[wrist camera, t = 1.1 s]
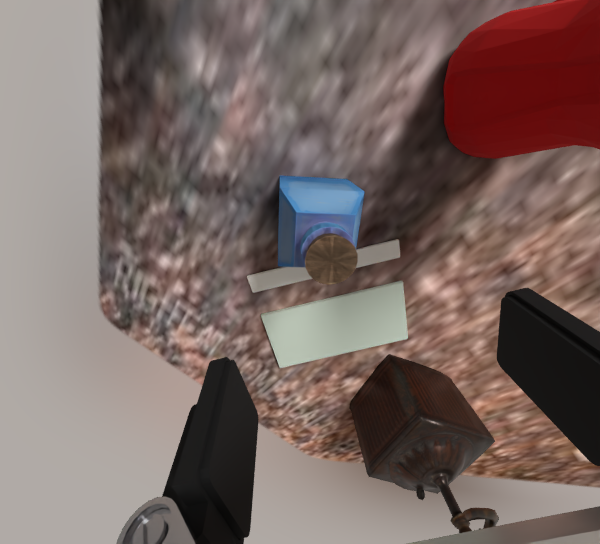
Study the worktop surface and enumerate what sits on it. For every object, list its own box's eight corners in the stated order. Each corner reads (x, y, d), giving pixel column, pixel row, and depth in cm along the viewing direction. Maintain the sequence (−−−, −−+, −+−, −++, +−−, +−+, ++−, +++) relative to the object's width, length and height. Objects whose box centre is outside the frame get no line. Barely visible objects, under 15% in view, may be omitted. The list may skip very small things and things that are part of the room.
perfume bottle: (347, 179, 27) (392, 211, 16) (339, 242, 30) (373, 306, 19) (279, 175, 26) (280, 206, 16) (278, 240, 29) (277, 304, 18)
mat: (261, 314, 33) (260, 315, 32) (401, 280, 32) (402, 282, 32) (279, 365, 36) (279, 368, 36) (406, 336, 35) (407, 338, 35)
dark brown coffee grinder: (344, 408, 40) (387, 593, 24) (388, 351, 36) (475, 528, 20) (431, 434, 44) (518, 609, 28) (480, 386, 40) (615, 557, 24)
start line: (247, 275, 30) (246, 276, 30) (397, 238, 30) (398, 239, 29) (253, 291, 31) (252, 292, 31) (399, 256, 31) (400, 257, 30)
